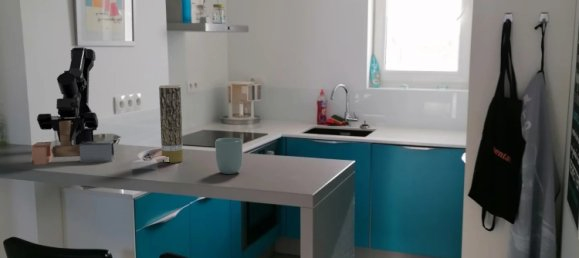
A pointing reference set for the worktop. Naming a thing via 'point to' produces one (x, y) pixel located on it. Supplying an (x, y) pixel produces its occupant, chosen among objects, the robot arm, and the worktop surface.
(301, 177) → the worktop surface
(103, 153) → the sleeve
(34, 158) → the light brown block
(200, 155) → the worktop surface
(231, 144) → the cup
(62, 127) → the wooden l-shaped block
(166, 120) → the speckled tall cylinder
